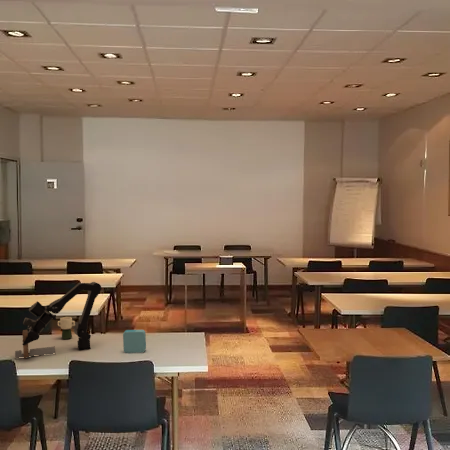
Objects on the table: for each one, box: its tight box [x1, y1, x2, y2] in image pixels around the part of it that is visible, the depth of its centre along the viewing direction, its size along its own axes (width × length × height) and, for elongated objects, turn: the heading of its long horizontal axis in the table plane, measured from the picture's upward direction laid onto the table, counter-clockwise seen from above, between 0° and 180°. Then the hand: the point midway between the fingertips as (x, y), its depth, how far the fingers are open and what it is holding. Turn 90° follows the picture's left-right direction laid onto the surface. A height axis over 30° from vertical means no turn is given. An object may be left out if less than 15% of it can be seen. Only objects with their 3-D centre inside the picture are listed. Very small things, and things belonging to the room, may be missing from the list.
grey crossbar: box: [14, 346, 56, 358], centre depth 302 cm, size 21×2×4 cm, turn 110°
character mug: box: [57, 316, 76, 340], centre depth 339 cm, size 11×7×13 cm, turn 87°
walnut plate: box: [22, 329, 30, 359], centre depth 300 cm, size 2×7×14 cm, turn 20°
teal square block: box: [122, 329, 147, 354], centre depth 306 cm, size 12×4×12 cm, turn 89°
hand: (22, 343), depth 300 cm, fingers closed on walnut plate, 7 cm apart
